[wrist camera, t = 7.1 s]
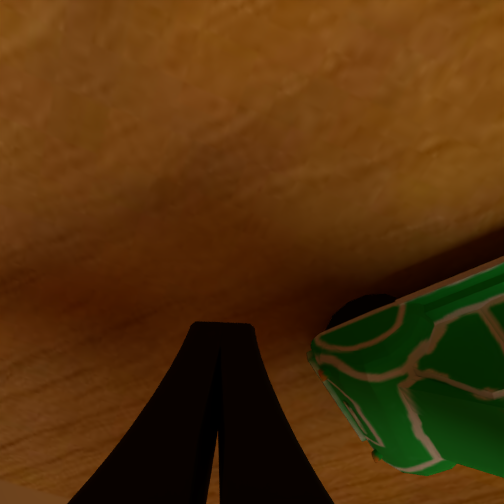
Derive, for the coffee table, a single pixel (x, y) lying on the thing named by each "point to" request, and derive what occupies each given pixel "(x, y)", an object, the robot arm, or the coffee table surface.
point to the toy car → (423, 372)
